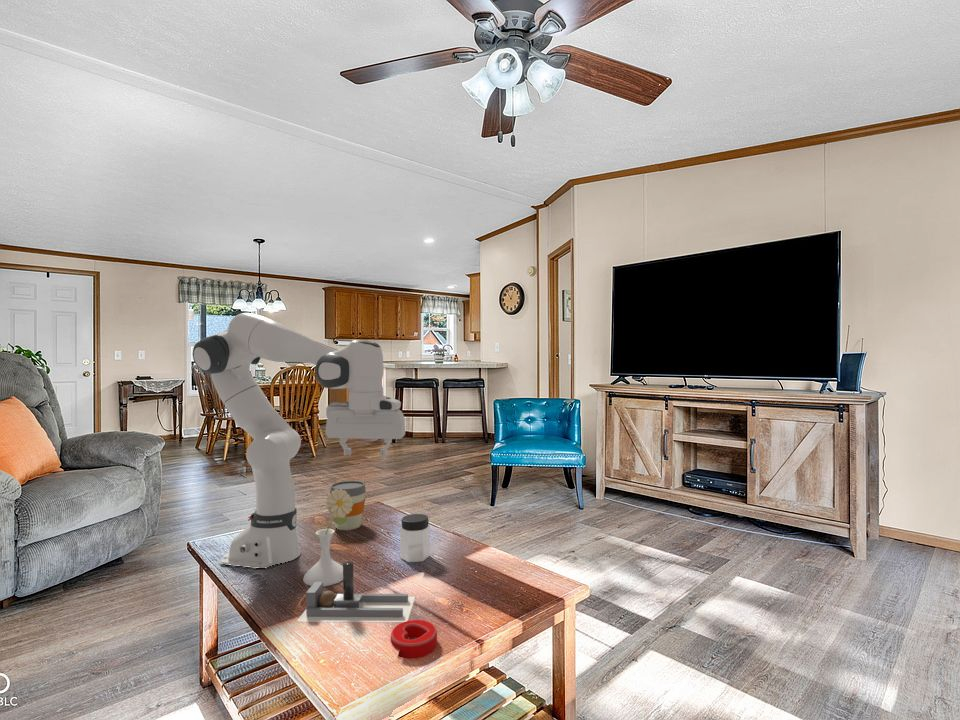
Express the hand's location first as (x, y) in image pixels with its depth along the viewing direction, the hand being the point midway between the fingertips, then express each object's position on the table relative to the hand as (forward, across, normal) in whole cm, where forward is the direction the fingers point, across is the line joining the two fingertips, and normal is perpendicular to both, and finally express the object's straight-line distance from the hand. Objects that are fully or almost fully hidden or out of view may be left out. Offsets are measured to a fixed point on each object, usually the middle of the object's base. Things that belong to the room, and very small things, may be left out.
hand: (365, 455), depth 126 cm
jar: (+36, +10, +23) cm, 43 cm away
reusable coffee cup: (+36, -20, +51) cm, 65 cm away
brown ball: (+34, -6, -11) cm, 36 cm away
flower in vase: (+36, -11, +6) cm, 38 cm away
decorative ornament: (+36, +17, -23) cm, 46 cm away
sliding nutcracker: (+36, +2, -11) cm, 37 cm away
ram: (+34, -1, -11) cm, 36 cm away
